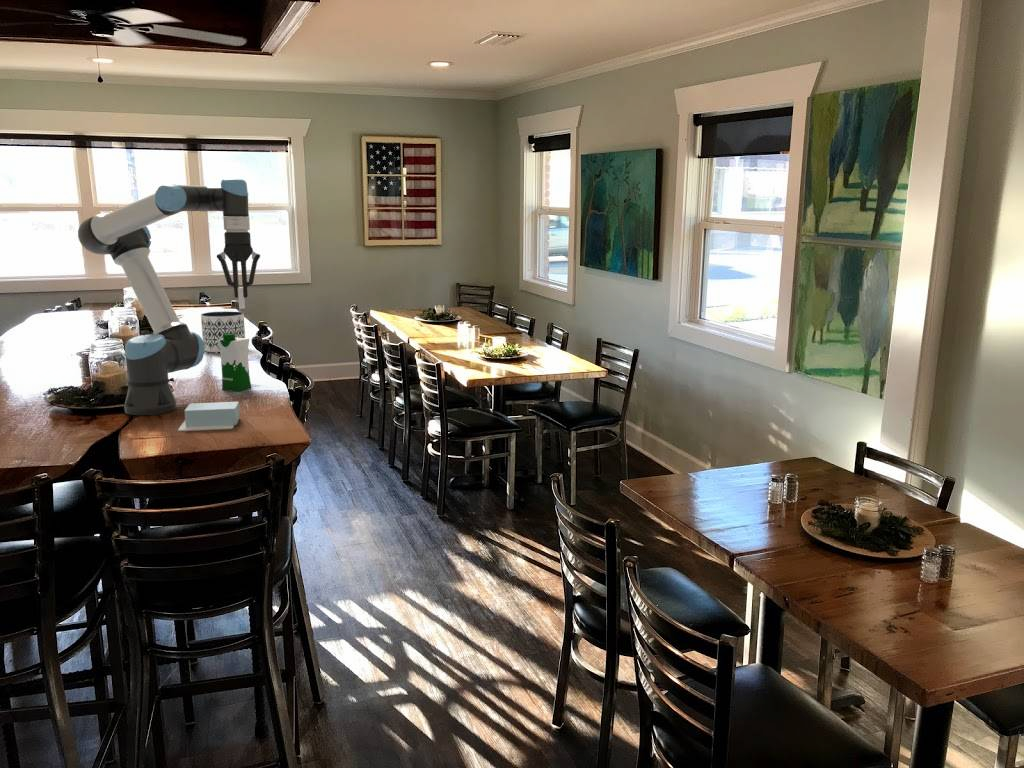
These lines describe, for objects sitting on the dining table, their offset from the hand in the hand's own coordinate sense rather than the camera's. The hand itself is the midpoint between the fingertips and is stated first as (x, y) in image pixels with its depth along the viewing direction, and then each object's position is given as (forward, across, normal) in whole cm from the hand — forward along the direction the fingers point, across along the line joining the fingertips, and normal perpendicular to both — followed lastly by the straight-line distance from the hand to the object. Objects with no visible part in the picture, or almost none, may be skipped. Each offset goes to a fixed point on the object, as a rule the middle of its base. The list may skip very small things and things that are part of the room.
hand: (242, 308), depth 251 cm
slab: (+30, -1, -17) cm, 34 cm away
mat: (+32, -10, -17) cm, 38 cm away
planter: (+33, -22, +117) cm, 123 cm away
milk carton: (+33, -7, +31) cm, 46 cm away
